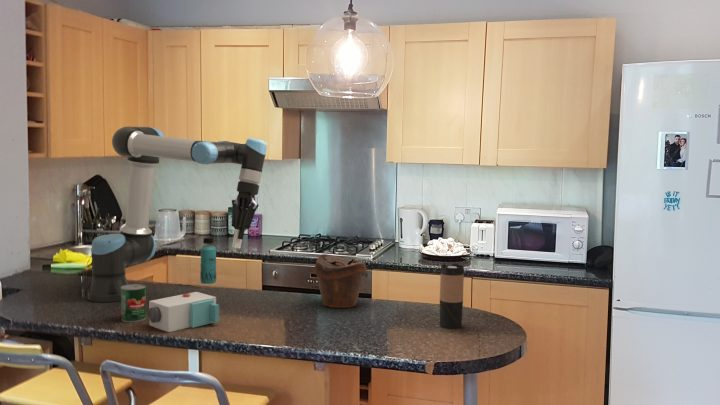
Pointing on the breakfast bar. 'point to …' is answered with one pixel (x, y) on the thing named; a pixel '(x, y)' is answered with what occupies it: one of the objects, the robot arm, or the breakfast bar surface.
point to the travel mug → (451, 295)
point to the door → (203, 313)
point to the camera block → (174, 311)
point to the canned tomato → (133, 303)
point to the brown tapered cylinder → (339, 280)
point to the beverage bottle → (208, 262)
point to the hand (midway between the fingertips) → (236, 247)
